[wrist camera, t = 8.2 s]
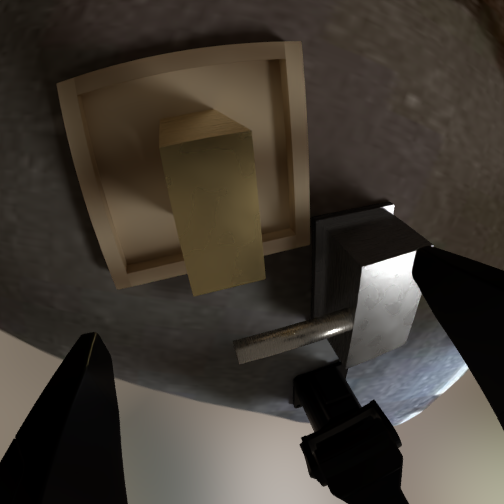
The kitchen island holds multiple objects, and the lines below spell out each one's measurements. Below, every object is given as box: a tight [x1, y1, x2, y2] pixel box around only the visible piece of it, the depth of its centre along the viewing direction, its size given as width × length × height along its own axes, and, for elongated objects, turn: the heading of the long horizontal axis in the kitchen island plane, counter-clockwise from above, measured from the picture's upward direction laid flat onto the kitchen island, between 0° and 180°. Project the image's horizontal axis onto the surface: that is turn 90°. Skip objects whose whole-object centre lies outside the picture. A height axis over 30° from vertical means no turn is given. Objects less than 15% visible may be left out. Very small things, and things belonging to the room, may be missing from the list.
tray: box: [57, 41, 310, 290], centre depth 17 cm, size 13×13×2 cm
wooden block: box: [159, 109, 266, 296], centre depth 14 cm, size 6×3×8 cm, turn 6°
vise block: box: [233, 202, 434, 369], centre depth 23 cm, size 11×14×6 cm
